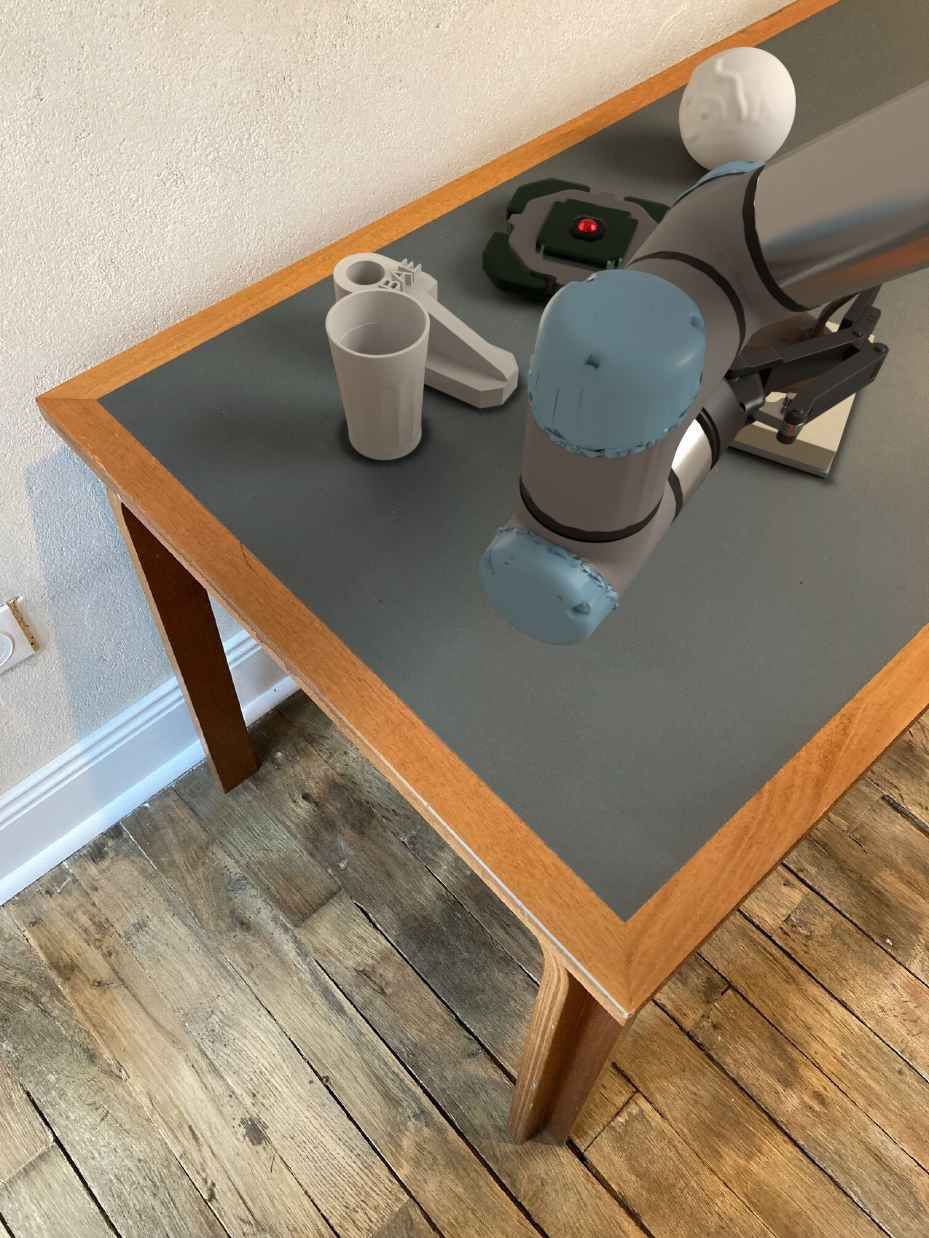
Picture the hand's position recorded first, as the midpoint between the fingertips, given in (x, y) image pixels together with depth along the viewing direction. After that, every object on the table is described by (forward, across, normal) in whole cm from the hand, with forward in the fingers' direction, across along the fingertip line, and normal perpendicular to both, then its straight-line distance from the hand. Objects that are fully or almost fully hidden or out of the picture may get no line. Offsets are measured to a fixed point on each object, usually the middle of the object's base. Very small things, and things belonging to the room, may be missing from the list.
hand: (801, 255), depth 68 cm
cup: (-18, -25, -18) cm, 36 cm away
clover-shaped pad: (+13, -23, -18) cm, 32 cm away
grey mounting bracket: (-8, -28, -18) cm, 34 cm away
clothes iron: (-4, +1, -6) cm, 7 cm away
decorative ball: (+37, -19, -18) cm, 45 cm away
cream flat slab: (+6, -2, -18) cm, 19 cm away
